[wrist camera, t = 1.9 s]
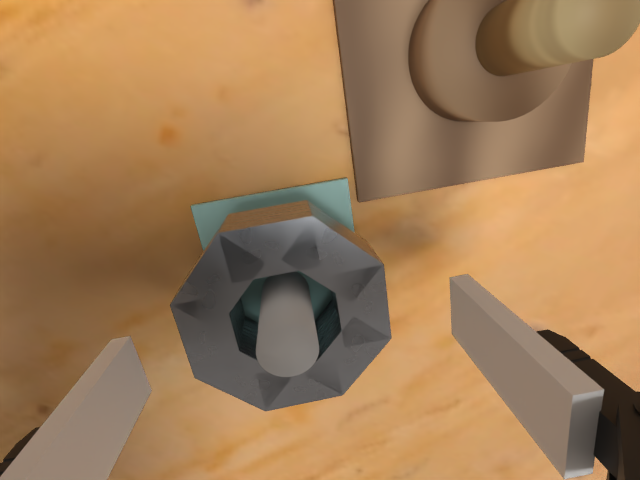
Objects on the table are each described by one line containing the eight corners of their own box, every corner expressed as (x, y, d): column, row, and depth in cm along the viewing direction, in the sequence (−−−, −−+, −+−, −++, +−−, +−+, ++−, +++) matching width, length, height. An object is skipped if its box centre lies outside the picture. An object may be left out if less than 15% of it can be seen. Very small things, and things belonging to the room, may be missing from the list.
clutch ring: (220, 378, 19) (209, 422, 17) (172, 223, 16) (149, 245, 14) (379, 346, 20) (396, 384, 17) (361, 190, 17) (377, 204, 14)
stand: (229, 336, 23) (200, 461, 15) (192, 204, 20) (128, 265, 12) (363, 310, 24) (410, 416, 15) (346, 177, 21) (392, 217, 12)
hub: (357, 200, 21) (405, 249, 13) (322, -89, 17) (361, -287, 8) (578, 161, 22) (751, 184, 14) (603, -128, 17) (885, -343, 9)
